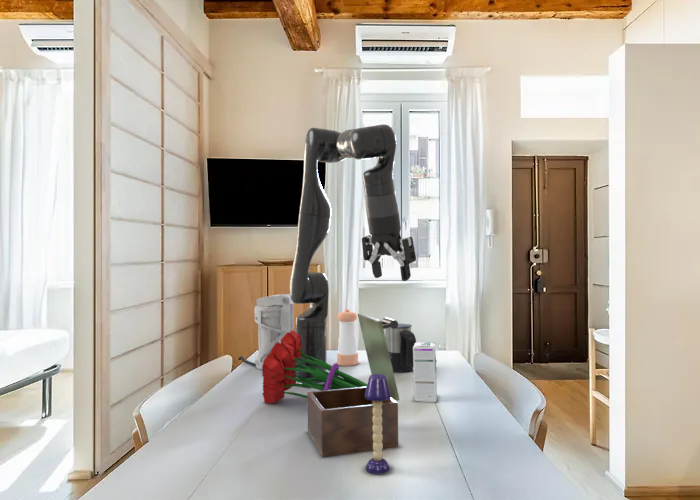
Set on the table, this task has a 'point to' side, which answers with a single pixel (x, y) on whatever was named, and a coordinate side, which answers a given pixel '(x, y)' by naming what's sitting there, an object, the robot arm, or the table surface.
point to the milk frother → (400, 347)
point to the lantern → (272, 323)
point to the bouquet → (282, 370)
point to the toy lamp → (377, 421)
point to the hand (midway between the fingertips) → (391, 278)
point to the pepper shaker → (347, 339)
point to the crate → (348, 421)
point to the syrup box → (424, 372)
